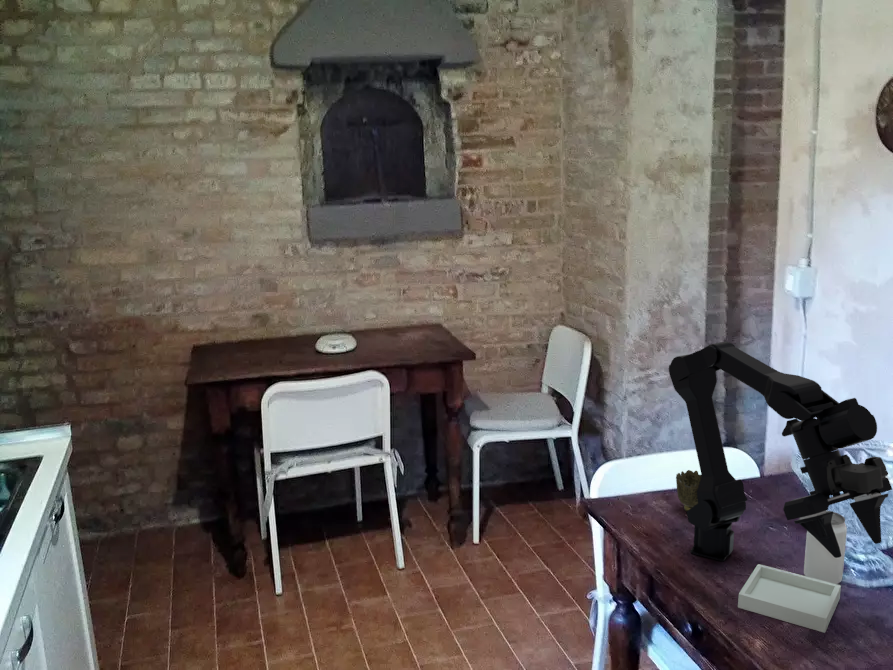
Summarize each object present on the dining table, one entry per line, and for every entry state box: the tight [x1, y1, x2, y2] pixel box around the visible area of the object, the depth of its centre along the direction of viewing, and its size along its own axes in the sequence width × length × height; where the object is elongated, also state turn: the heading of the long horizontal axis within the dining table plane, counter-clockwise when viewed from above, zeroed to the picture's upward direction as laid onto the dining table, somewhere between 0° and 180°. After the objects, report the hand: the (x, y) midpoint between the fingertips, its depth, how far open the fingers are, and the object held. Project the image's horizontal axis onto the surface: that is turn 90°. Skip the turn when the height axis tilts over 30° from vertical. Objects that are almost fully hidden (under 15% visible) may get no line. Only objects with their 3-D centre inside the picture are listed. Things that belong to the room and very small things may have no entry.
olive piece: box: [675, 469, 701, 513], centre depth 180 cm, size 8×7×8 cm
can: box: [803, 510, 848, 585], centre depth 152 cm, size 6×6×12 cm
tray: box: [737, 563, 842, 634], centre depth 145 cm, size 14×12×3 cm
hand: (858, 550), depth 133 cm, fingers open, 9 cm apart
